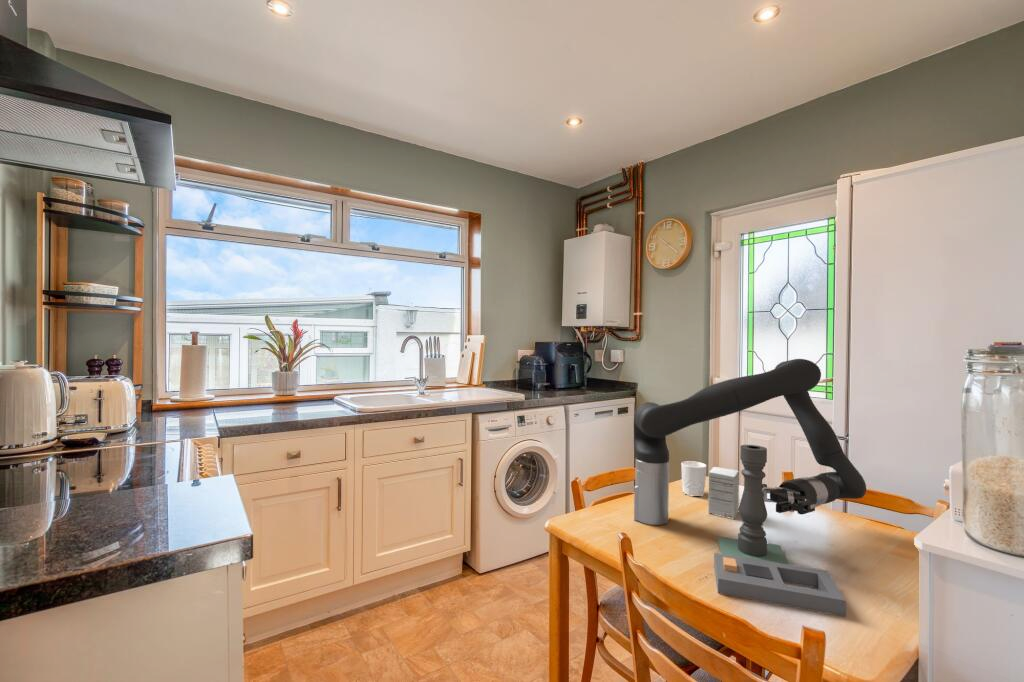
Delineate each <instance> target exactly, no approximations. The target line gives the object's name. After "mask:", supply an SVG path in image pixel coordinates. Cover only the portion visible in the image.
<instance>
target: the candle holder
mask: <svg viewBox="0 0 1024 682" xmlns="http://www.w3.org/2000/svg"><path fill="white" fill-rule="evenodd" d="M739 451H740V452H739V453H740V455H739V456H740V457H739V460H740V461H741V464H742V466H743V469H742V470H741V472H740V473H741V475H742V476H743V479H744V481H743V492H742V495H741V499H740V502H739V512H738V513H739V514H738V515H739V516H740V518H741V519H742V523H743V524H742V525H741V526H739V532H738V533H737V536H738V537H737V539H738V550H739V551H741V552H742V553H744V554H746V555H750V556H755V557H763V556H766V555H767V544H768V538H766V535H767V533H766V530H764V527H763V526H764V522H765V521H766V519H767V517H768V511H767V507H766V504H765V503H766V502H765V501H764V498H763V494H762V484H763V480H764V478H766V473H765V472H764V471H763V470H764V468H765V467H766V464H767V463H768V461H767V460H768V449H767V447H765V446H761V445H755V444H742V445H740V449H739Z"/></svg>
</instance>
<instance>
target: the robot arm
mask: <svg viewBox="0 0 1024 682" xmlns="http://www.w3.org/2000/svg"><path fill="white" fill-rule="evenodd" d="M821 378H822V371H821V369H820V367H819V366H818V365H817V364H816V363H815V362H813V361H811V360H808V359H805V358H794V359H789V360H786V361H782V362H780V363H778V364H777V365H776V366H775V367H774V369H771V370H768V371H766V372H765V371H764V372H761V373H757V374H756V373H755V374H751V375H746V376H745V375H744V376H741V377H735V378H730V379H727V380H723V381H720V382H716V383H713V384H711V385H708V386H706V387H704V388H701V389H700V390H699V391H697V392H695V393H694V394H692V395H690V396H689V397H687V398H685V399H681V400H680V401H675V402H671V403H668V404H667V403H666V404H661V405H660V404H657V403H656V402H652V401H651V402H644V403H642V404H640V405H639V406H638V407H637V409H636V410H635V411H634V412H635V413H634V416H633V446H634V451H635V472H634V473H635V477H634V478H635V479H634V481H635V482H634V484H635V485H634V489H633V490H634V491H633V492H634V494H633V495H634V496H633V497H634V498H633V501H634V502H633V505H634V507H633V521H636V522H640V523H643V524H646V525H653V526H662V525H665V524H667V523H669V495H670V494H669V493H670V491H669V489H670V488H669V485H670V484H669V483H670V481H669V480H670V451H669V449H668V446H667V436H669V435H672V434H673V433H676V432H678V431H680V430H683V429H685V428H688V427H690V426H693V425H696V424H701V423H705V422H708V421H712V420H714V419H718V418H719V419H720V418H722V417H726V416H729V415H732V414H735V413H739V412H741V411H744V410H747V409H749V408H753V407H755V406H758V405H760V404H762V403H764V402H767V401H770V400H772V399H774V398H775V399H776V398H778V397H783V398H784V399H785V401H786V403H787V405H788V406H789V408H790V410H791V411H792V412H793V414H794V416H795V418H796V420H797V422H798V424H799V425H800V427H801V430H802V431H803V434H804V437H805V438H806V440H807V442H808V443H807V444H808V445H809V447H810V451H811V453H812V454H813V458H814V459H815V462H816V463H817V464H819V465H820V466H824V467H829V468H831V469H833V470H834V471H828V472H822V473H819V474H817V475H814V476H809V477H808V476H805V477H804V476H803V477H798V478H793V479H787V480H784V481H783V482H781V483H780V485H779V486H775V487H769V486H768V484H766V483H762V494H763V498H764V502H765V503H774V504H775V512H776V513H778V514H781V513H787V512H790V513H795V512H797V514H799V515H806V514H809V513H813V512H815V511H816V507H817V508H818V507H819V506H822V505H826V504H830V503H833V502H835V501H836V500H837V499H843V500H844V499H850V500H853V499H854V500H858V499H862V498H863V497H865V495H866V493H867V485H866V481H865V480H864V477H863V476H862V474H861V473H860V472H859V470H858V469H857V468H856V467H855V465H853V463H852V462H851V459H849V458H848V457H847V455H846V454H845V453H844V450H843V448H842V446H841V443H840V440H839V439H838V436H837V435H836V432H835V431H834V429H833V428H832V425H830V423H829V422H828V421H827V419H826V418H825V417H824V416H823V415H822V414H821V412H820V411H819V409H818V408H817V407H816V405H815V404H814V402H813V400H812V398H811V395H810V393H809V391H811V390H812V389H815V387H817V386H818V384H819V383H820V381H821ZM768 494H769V498H768Z"/></svg>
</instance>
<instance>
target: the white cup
mask: <svg viewBox="0 0 1024 682" xmlns="http://www.w3.org/2000/svg"><path fill="white" fill-rule="evenodd" d="M680 465H681V466H680V467H681V470H680V471H681V486H682V493H683V492H684V493H685V494H688V495H693V496H702V495H704V496H705V487H706V478H707V464H706V463H703V462H700V461H695V460H694V461H692V460H684V461H681V464H680ZM684 493H683V494H684ZM685 494H684V495H685ZM688 495H687V496H688ZM702 497H703V496H702Z"/></svg>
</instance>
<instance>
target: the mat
mask: <svg viewBox="0 0 1024 682" xmlns="http://www.w3.org/2000/svg"><path fill="white" fill-rule="evenodd" d="M717 541H718V546H719V552H720V554H725V555H731V556H738V557H744V558H750V559H757V560H763V561H769V562H776V563H782V564H788V565H790V563H789V561H788V560H787V557H786V555H785V552H784V551H783V549H782V547H781V545H779V544H772V543H767V555H766V556H763V557H755V556H750V555H746V554H744V553H742V552H741V551H739V550H738V538H732V537H724V536H717Z"/></svg>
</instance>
